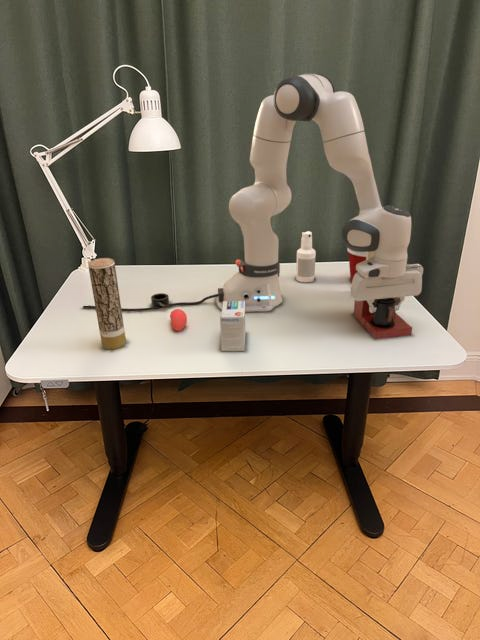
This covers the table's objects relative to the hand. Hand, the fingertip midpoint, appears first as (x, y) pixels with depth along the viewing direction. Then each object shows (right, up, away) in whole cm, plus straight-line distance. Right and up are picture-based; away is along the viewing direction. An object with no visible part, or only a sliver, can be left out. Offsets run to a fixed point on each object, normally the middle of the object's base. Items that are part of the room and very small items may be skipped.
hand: (383, 310), depth 140 cm
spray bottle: (-17, +12, +41) cm, 46 cm away
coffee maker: (0, -2, +11) cm, 11 cm away
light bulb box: (-44, -9, -1) cm, 45 cm away
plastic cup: (+2, +12, +38) cm, 40 cm away
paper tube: (-78, -10, -1) cm, 79 cm away
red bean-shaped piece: (-61, -5, +9) cm, 62 cm away
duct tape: (-69, +3, +22) cm, 72 cm away
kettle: (0, -3, +2) cm, 4 cm away
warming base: (+2, -5, +4) cm, 7 cm away
